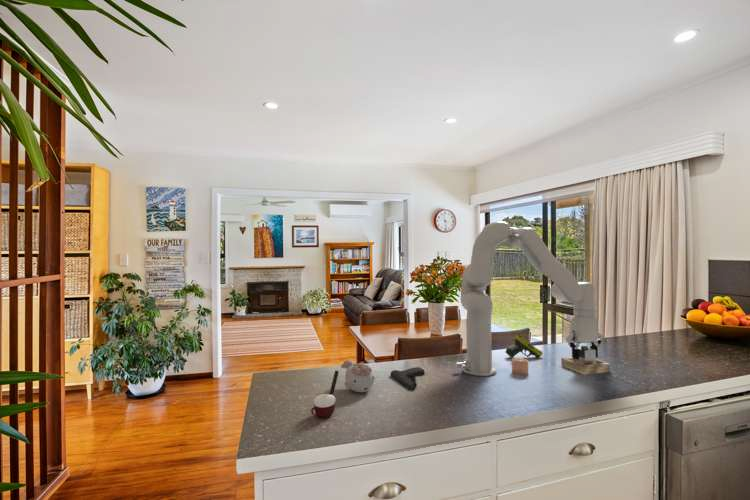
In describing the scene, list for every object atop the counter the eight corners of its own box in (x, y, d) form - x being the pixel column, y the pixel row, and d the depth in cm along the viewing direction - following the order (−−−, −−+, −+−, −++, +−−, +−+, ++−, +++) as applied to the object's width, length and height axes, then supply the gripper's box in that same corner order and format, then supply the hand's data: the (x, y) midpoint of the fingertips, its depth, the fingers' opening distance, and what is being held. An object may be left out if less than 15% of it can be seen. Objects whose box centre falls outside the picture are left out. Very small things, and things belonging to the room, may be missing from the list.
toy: (352, 398, 127) (351, 368, 127) (335, 384, 141) (334, 357, 141) (379, 393, 132) (379, 363, 132) (360, 380, 146) (360, 353, 146)
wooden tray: (583, 374, 147) (583, 366, 147) (561, 365, 158) (561, 357, 158) (610, 371, 149) (610, 363, 149) (586, 363, 161) (586, 355, 161)
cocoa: (312, 423, 111) (310, 382, 110) (308, 413, 117) (306, 374, 116) (344, 416, 114) (342, 376, 113) (339, 407, 120) (337, 369, 119)
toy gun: (530, 371, 170) (544, 353, 170) (504, 352, 170) (518, 334, 170) (528, 369, 172) (541, 351, 172) (502, 351, 173) (516, 333, 172)
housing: (573, 362, 156) (573, 345, 156) (584, 361, 157) (583, 344, 157) (585, 366, 150) (584, 348, 150) (595, 365, 151) (595, 347, 151)
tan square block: (517, 376, 147) (517, 362, 147) (508, 371, 153) (508, 358, 153) (531, 374, 148) (531, 361, 148) (522, 369, 154) (522, 357, 154)
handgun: (417, 366, 155) (388, 371, 150) (442, 380, 139) (409, 386, 134) (418, 371, 155) (388, 376, 150) (442, 386, 139) (410, 392, 134)
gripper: (595, 310, 159) (596, 353, 159) (558, 313, 155) (559, 357, 155) (610, 313, 152) (611, 358, 152) (572, 316, 148) (573, 362, 148)
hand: (584, 357), depth 154 cm, fingers open, 8 cm apart
